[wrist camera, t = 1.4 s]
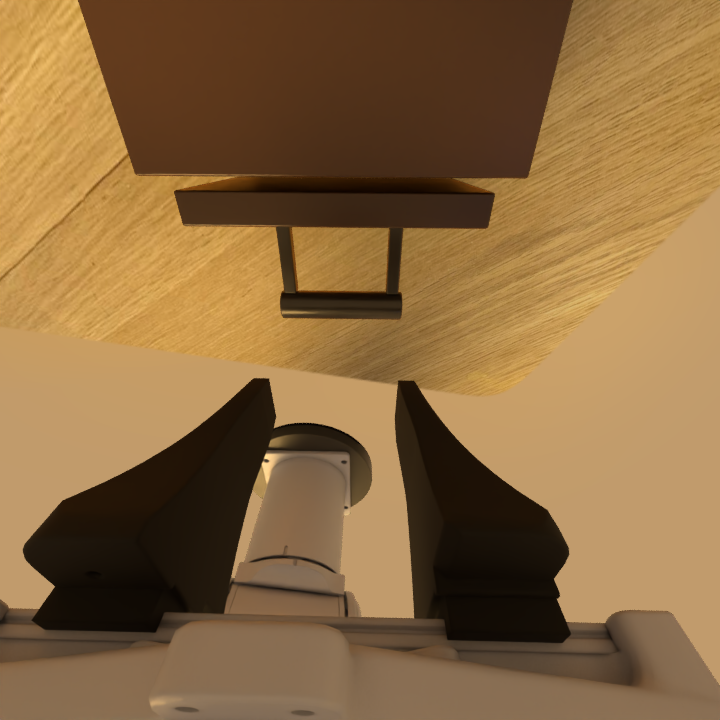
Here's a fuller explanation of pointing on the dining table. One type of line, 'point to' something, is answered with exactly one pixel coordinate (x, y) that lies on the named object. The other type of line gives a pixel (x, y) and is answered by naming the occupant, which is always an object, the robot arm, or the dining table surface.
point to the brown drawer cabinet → (329, 85)
